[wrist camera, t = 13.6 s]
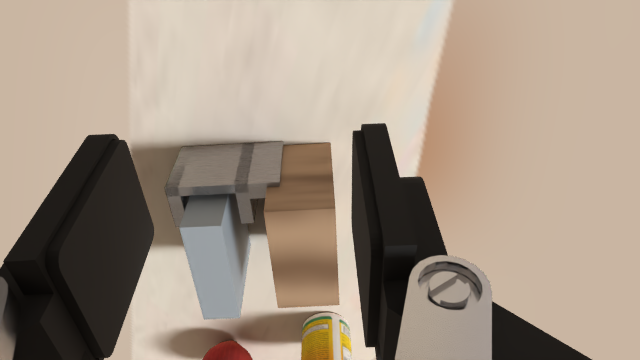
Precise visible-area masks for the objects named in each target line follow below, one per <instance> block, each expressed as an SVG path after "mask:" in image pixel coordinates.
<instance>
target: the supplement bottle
mask: <svg viewBox="0 0 640 360" xmlns="http://www.w3.org/2000/svg"><path fill="white" fill-rule="evenodd" d="M301 360H352V354H351V339H350V328H349V324H348V322H347V321H346V319H344V318H343V317H342V316H340V315H338V314H335V313H328V312H326V313H319V314H315V315H313V316H311V317H309V318H308V319H307V320H306V321H305V322H304V324H303V327H302V353H301Z"/></svg>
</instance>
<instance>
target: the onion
mask: <svg viewBox="0 0 640 360" xmlns="http://www.w3.org/2000/svg"><path fill="white" fill-rule="evenodd" d="M203 360H252V358H251V355H250V354H249V353H248V351H247V350H246V349H245V348H243V347H242V346H241V345H239V344H238V343H237V342H236V341H233V340H230V341H225V342H221V343H219V344H217V345H216V346H214V347H212V348H211V349H210V350H209V351H208V352H207V353H206V355H205V356H204V358H203Z"/></svg>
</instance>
